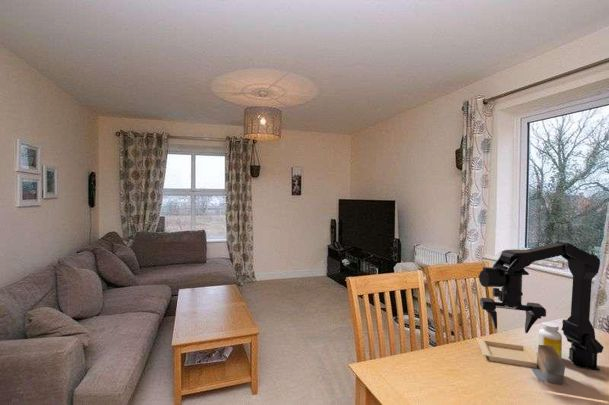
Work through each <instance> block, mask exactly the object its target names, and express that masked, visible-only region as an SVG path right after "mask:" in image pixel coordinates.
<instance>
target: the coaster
mask: <svg viewBox="0 0 609 405" xmlns="http://www.w3.org/2000/svg"><path fill="white" fill-rule="evenodd" d="M529 369H531V371H532V373H533V374H534V376H536V379H537V380H538V381H539V382H545V383H547V382H546V380H545V378H544V376H543V374H542V372H541V370H540V368H539V367H537V368H534V367H529ZM563 385H564V386H568V387H570V386H571V385H570V384H569V383H568V382H567V381H566V379H565V378H564V379H563ZM563 385H562V386H563Z"/></svg>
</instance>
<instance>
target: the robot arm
mask: <svg viewBox="0 0 609 405" xmlns="http://www.w3.org/2000/svg"><path fill="white" fill-rule="evenodd" d="M555 257H562V258H563V259H564V260H566V261H567V266H568V267H567V268H568V269H569V271H570V273H571V275H572V286H571V289H572V290H571V304H570V306H571V307H570V315H569V317H568V318H567V319H563V320H562V321H561V322H562V327H561V329H560V330H561V331H562V334H563V335H564V337H565V338H566V341H567V342H569V343H570V344H571V345H570V347H569V350H568V353H569V354H568V355H569V356H568V359H569V360H570V362H571V363H572V364H573V365H574V366H576V367H577V368H583V369H591V370H596V371H600V370H601V369H600V367H599V366H598V354H599V353H600V354H602V353H603V350H604V346H603V345H602V344H601V343H600V341H598V340H597V338H596V333H595V328H594V326H593V325H592V322H591V321H590V316H591V315H590V313H591V299H592V298H591V297H592V284H593V283H592V281H593V279H594V278H595V276H597V274H598V273H599V269H600V266H601V259H600V258H599V257H598V256H597V255H596V254H592V253H589V252H587V251H586V250H585V251H584V250H583V249H581V248H579V247H577V246H575V245H573V244H572V243H570V242H565V241H556V242H554V243H549V244H545V245H541V246H537V247H532V248H528V249H527V248H526V249H505V250H503V251H502V252H501V253H500V256H499V257H498V258H497V259H496V261H495V262H494V264H493V265H492V267H488V266H483V267H482V270H480V273H479V274H478V279H479V280H478V281H479V283H480V285H481V286H482V287H484V288H492V297H494V298H498V301H495V300H494V299H493V298H489V297H480V300H479V305H480V307H481V309H482V310H484V311H486V313H489V315H490V318H491V321H492V324H493V327H494V329H495V330H498V312H497V310H496V309H506V310H514V311H525V323H524V333H525V334H528V333H529V331H530V330H531V328H532V327H533V325H534V324H535V323H536V322H537V321H538V319H539V320H540V319H542V317H543V318H545V317H547V309H546V308H545V307H543V306H542V305H541V304H540V303H537V302H536V303H535V302H528V301H527V302H526V304H522V298H523V297H524V296H523V295H524V294H523V276H529V275H530V273H529V272H528V271H527V270H526V269H525V268H528V267H529V266H530V265H531V264H532V263H534V262H538V261H539V262H540V261H542V260H547V259H552V258H555ZM500 289H501V290H500ZM522 296H523V297H522ZM499 301H500V302H499Z"/></svg>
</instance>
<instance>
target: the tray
mask: <svg viewBox="0 0 609 405" xmlns="http://www.w3.org/2000/svg"><path fill="white" fill-rule="evenodd" d="M476 342H477V343H478V346H479V348H480V351H481V352H482V355H483V356H485V357H488V360H489V361H490V362H497V363H502V364H510V365H517V366H522V367H529V368H530V367H531V368H538V364H537V355H538V353H536V351H535V350H534V349H533V348H532V346H531V345H525V344H524V345H522V344H515V343H508V342H500V341H496V340H495V341H493V340H487V339H486V340H485V339H481V338H476Z"/></svg>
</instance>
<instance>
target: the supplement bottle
mask: <svg viewBox="0 0 609 405" xmlns="http://www.w3.org/2000/svg"><path fill="white" fill-rule="evenodd" d="M541 326H542V328H540V329H539V331H538V346H539V345H545V346H552V347H553V348H554V349H555V351H556V352H557V354H558V355H559V357H560V359H561V360H562V353H563V352H562V347H563V345H562V343H563V340H562V339H563V336H562V334H561V333H560V332H559V330H560V329H559V325H558V324H556V323H553V322H550V321H543V322H542V323H541Z"/></svg>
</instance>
